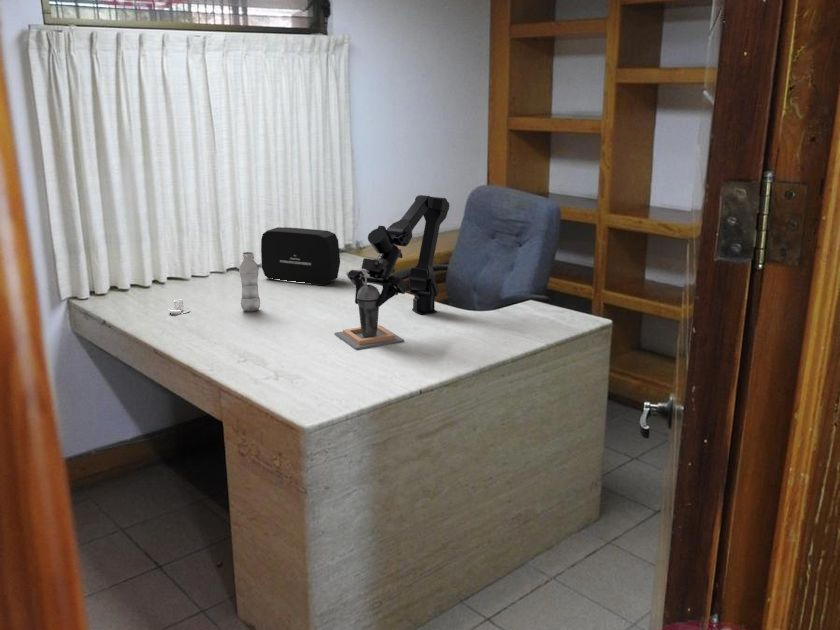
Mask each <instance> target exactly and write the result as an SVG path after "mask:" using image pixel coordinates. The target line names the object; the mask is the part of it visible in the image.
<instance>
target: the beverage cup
mask: <svg viewBox="0 0 840 630" xmlns="http://www.w3.org/2000/svg"><path fill="white" fill-rule="evenodd" d="M363 274H364V275H365V283H366V285H364V286H363V287H361V288H360V290H359V291H358V294H357V302H358V304H357V305H358V312H359V320H360V321H359V323H360V324H359V325H360V327H361V331H362V335H363V336H366V337H372V336H375V335H377V326H378V325H379V323H378V322H379V310H380V307H378V308H376V303H377V300H378V298H379V296H380V294H381V292H380V291H379V289H378V288H377V286H375V285H374V284H368V283H367V277H366V276H367V270H365V271H363Z"/></svg>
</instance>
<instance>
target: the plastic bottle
mask: <svg viewBox="0 0 840 630" xmlns="http://www.w3.org/2000/svg"><path fill="white" fill-rule="evenodd" d="M241 255H242V261H241V263H240V265H239V268H238V271H239V278H240V283H241V298H240V307H241V309H242V310H243V311H244V312H256V311H258V310H260V308H261V299H260V294H259V287H258V286H259V285H258V283H259V281H258V280H259V269H260V268H259V265H258V264H257V262H256V261H255V260H254V259H255V255H254V252H252V251H246V252H242V254H241Z"/></svg>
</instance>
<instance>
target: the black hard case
mask: <svg viewBox="0 0 840 630" xmlns="http://www.w3.org/2000/svg"><path fill="white" fill-rule="evenodd" d="M260 253H261V254H260V256H261V269H262V272H263V275H264V276H265V277H266V278H267V279H268V278H273V279H280V280H287V281H296V282H305V283H311V284H310V285H315V284H319V285H320V286H324V285H327V284H329V283H331V282H333V281H335V280H337V279H338V277H339V271H340V265H341V257H340V256H341V255H340V243H339V239H338V237H337V235H336V233H334V232H331V231H330V230H325V229H324V230H323V229H313V228H312V229H310V228H301V227H285V226H284V227H279V226H278V227H274V228H271V229H268V230H266V231H265V232H263V233H262V235H261V239H260ZM273 279H272V280H273Z"/></svg>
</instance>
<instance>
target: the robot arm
mask: <svg viewBox="0 0 840 630" xmlns="http://www.w3.org/2000/svg"><path fill="white" fill-rule="evenodd" d="M449 210H450V202H449V201H448V199H447V198H446V197H438V196H430V195H423V194H422V195H421V194H418V195H416V196H415V199H414V202H413V203H412V204H411V205H410V207H409V208H408V210H407V211H406V212H405V213H404V215H402V217H401V219H400V220H398V221H395V222H393V223H391V224H390V225H389V226H388V228H386V226H384V225H378V226H377V228H374V229H373V230H371V231H370V232H369V233H368V235H367V240H368V242H369V244H370V245H371V247H372V248H373V249H374V251H375V253H377V254H379V255H378V257H377V258H374V259H373V258H366V257H365V258H364V257H363V260H362V264H361V269H362V270H365V271H366V274H367V275H366V277H367V284H371V285H379V286H382V290H381V292H380V296H379V298H378V300H377V303H376V308H378V307H379V308H380V307H381V306H382V305H384V304H385V303H386V302H388V301H389V300H390V299H392V298H394V297H395V296H398V295H399V294H401V295H405V294H406V291H407V290H408V288H407V287H409V293H410V294H411V295H412V294H413V295H414V297H413V299H412V300H413V301H412V308H411V310H412V311H413V312H415V313H417V314H419V315H427V314H433V313H434V314H435V313H438V311H437V309H435V302H436V301H435V297H438V295H439V294H440V287H439V285H438V283H437V282H436V274H435V270H434V268H433V264H434V259H435V254H436V248H437V242H438V237H439V233H440V226H441V224H442V223H443V222H444V220H445V219H446V218H447V216H448V212H449ZM422 218H424V220H425V222H424V229H423V233H422V234H423V235H422V240H421V245H420V251H419V254H418V255H419V256H418V262H417V264H416V265H415V266H414V267H411V268H410V272H409V277H408V286H407V283H406V282H405V281H404V279H402V277H401V276H395V275H394V274H395V271H396V270H395V266H396V263H397V262H398V260H399V259H402V258H403V253H402V249H400V248H399V247H407V246H408V245H409V243H410V242H411V240H412V238H413V231H414V229H415V227H416V226H417V225H418V223H419V222H420V221H421V219H422ZM362 270H358V269H357V270H356V269H351V270H350V271H348V274H347V276H346V277H347V278H348V279H349V280H350V281H351V283H352V284H353V285H354V286H355V296H354V302H355V304H356V305H358V302H357V294H358V291H359V290H360V288H361V287H363V286H364V285H366V283H365V275H364V271H362ZM391 274H393V275H391ZM368 275H369V276H368Z"/></svg>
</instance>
